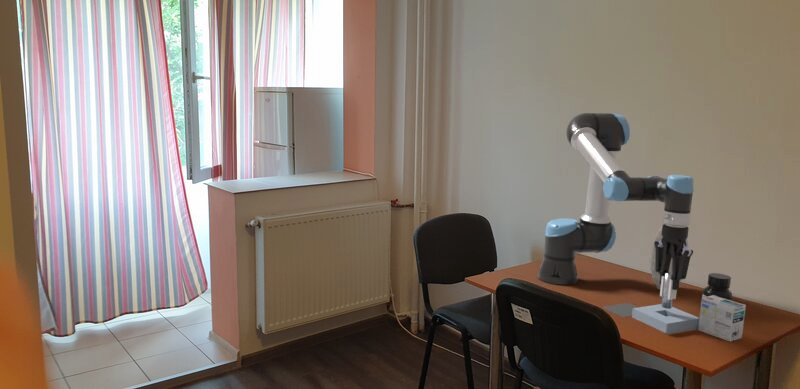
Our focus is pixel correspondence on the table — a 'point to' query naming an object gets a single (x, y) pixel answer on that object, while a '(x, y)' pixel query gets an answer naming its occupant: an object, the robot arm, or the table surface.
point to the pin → (666, 292)
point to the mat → (621, 309)
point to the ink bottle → (718, 286)
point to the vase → (653, 254)
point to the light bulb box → (721, 318)
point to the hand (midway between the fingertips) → (667, 297)
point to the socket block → (666, 318)
